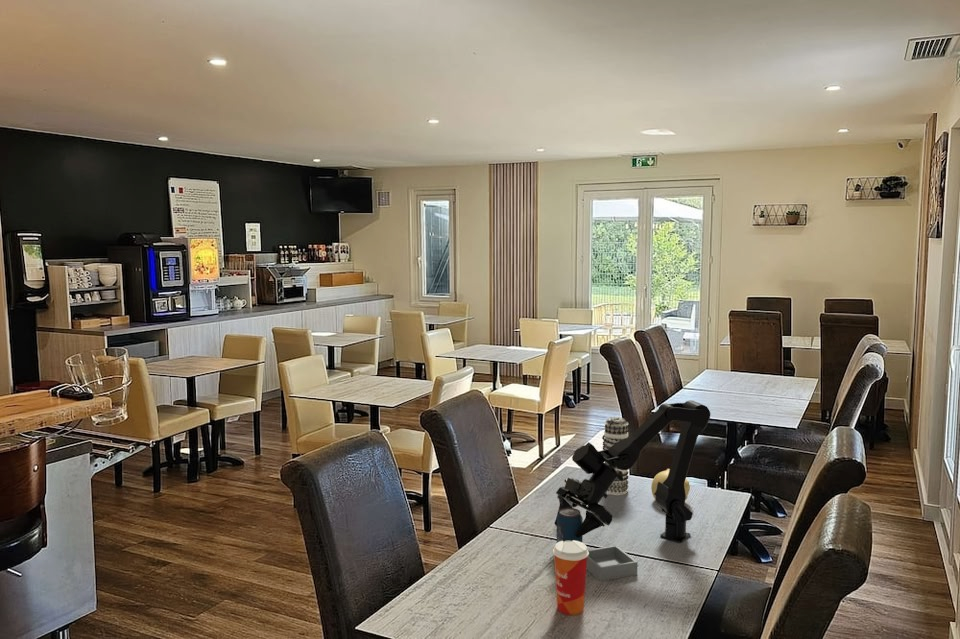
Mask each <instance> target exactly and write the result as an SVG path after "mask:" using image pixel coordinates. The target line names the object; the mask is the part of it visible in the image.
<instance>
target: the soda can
mask: <svg viewBox="0 0 960 639" xmlns="http://www.w3.org/2000/svg"><path fill="white" fill-rule="evenodd" d="M558 510H559V509H558ZM556 517H557V526H556V543H558V542H560V541H563V543H564V542H565V541H573V540H575V541H579V542H582V543H583V536H581V537H579V538H577V537H575V534H576V532H577V531H578V529H579V527H580V526H581V524H582V523H583V521H584V520H583V516H582V513H581V511H580V510H579V509H577V508H576V507H573V508H563V509H561V510H559V514H558V516H557V515H556Z"/></svg>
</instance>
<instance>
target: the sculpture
mask: <svg viewBox="0 0 960 639" xmlns="http://www.w3.org/2000/svg"><path fill="white" fill-rule="evenodd" d="M669 470H670V468H666V470H663V471H660V472H658V473H657V474H656V475H655V476H654V478H653V479H652V482H651V493H652V494H651V495H652V497H653V498H654V499H655V497H656V496H655V495H654V493H655V492H656V490H657V484H658V482H661V483H663V482H664V481H665V480H666V479H667V477H668V474H669ZM684 487H685V493H686V499H685V501H687V499H688V497H689V496H688V495H689V492H690V488H691V485H690V481H689V480H688V479H687V478H686V479H685V483H684Z"/></svg>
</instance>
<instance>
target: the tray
mask: <svg viewBox="0 0 960 639" xmlns="http://www.w3.org/2000/svg"><path fill="white" fill-rule="evenodd" d="M587 550H588V551H589V555H588V556H587V568H586V571H587V570H588V572H589V573H591V574H592V576H594V577H595V578H596V579H597V580H598V581H600V582H603V581H609V580H614V579H620V578H625V577H630V576H635V575H638V562H639V561H637V560H636V559H634V558H633V557H632V556H631V555H629V554H628V553H627V552H625V551H624V550H623V549H621V548H620V547H619V546H618V545H611V546H610V545H609V546H605V547H604V546H603V547H598V548H593V549H592V548H591V549H587Z"/></svg>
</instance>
